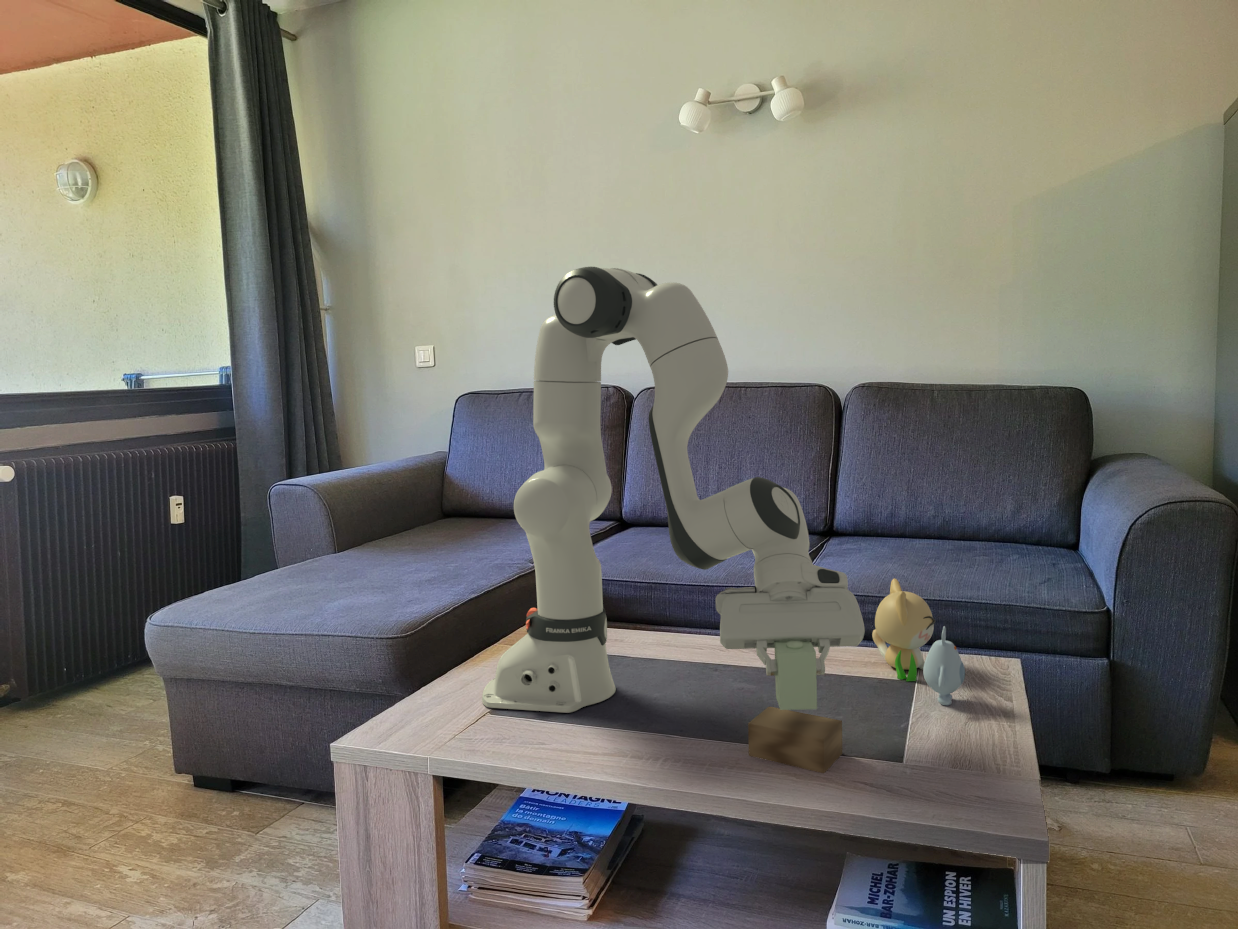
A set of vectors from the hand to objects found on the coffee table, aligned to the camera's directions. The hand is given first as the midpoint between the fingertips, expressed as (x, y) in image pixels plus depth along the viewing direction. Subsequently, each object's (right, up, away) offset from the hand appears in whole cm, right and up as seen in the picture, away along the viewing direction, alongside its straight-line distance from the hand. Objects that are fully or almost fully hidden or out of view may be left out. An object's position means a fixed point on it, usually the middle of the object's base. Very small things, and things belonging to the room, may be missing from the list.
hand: (795, 673), depth 121 cm
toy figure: (+27, -9, +19) cm, 35 cm away
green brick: (0, -4, +1) cm, 4 cm away
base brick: (0, -12, +2) cm, 12 cm away
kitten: (+26, -8, +35) cm, 45 cm away
